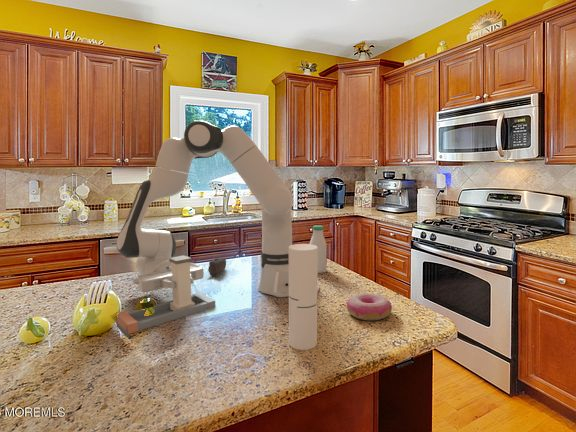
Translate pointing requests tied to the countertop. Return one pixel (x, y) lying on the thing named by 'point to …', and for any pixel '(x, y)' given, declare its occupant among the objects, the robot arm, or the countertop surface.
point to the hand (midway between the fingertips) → (182, 283)
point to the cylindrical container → (303, 296)
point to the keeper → (181, 282)
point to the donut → (369, 306)
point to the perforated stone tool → (217, 266)
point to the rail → (160, 314)
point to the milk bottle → (320, 248)
